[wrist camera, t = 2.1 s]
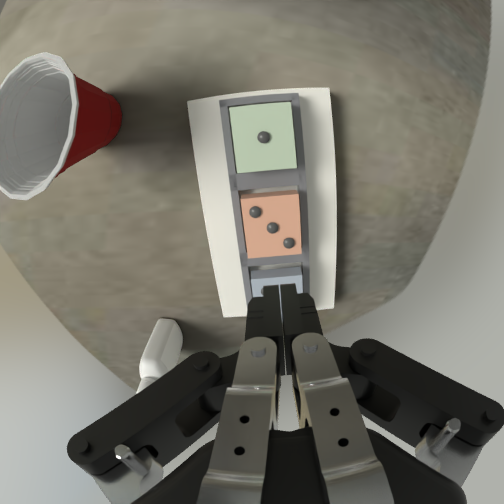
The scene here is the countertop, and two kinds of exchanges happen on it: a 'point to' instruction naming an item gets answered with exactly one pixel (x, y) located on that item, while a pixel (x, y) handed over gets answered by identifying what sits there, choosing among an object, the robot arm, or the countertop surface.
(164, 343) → the eye dropper bottle
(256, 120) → the key one
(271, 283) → the key two
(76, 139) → the plastic cup
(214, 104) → the keypad
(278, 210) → the key three
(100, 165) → the countertop surface
